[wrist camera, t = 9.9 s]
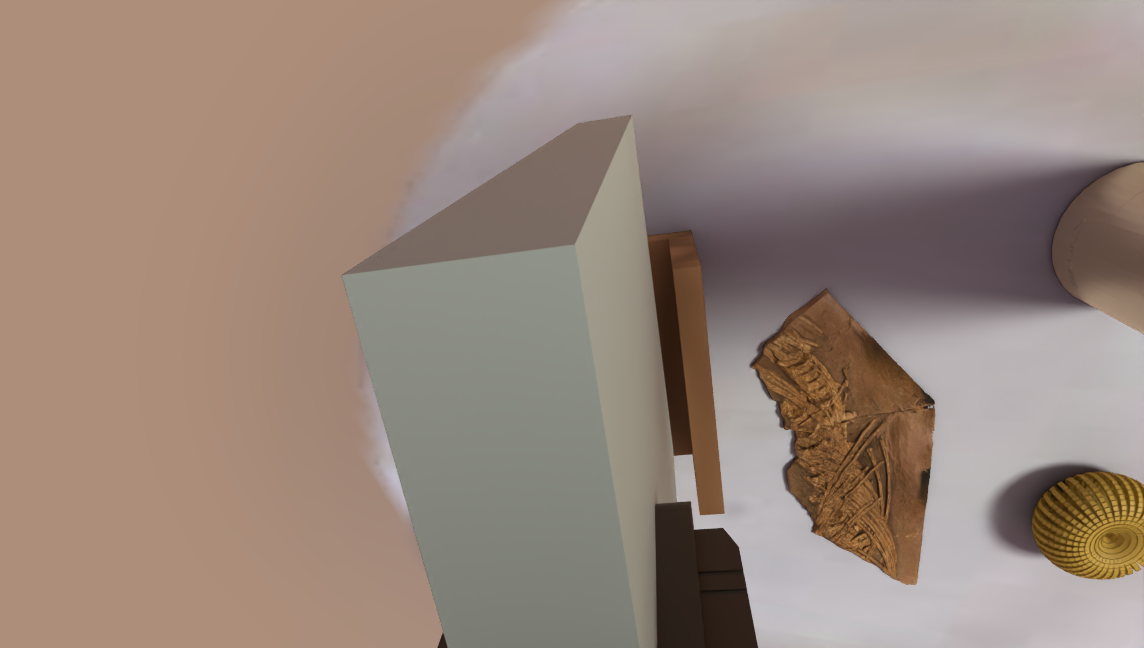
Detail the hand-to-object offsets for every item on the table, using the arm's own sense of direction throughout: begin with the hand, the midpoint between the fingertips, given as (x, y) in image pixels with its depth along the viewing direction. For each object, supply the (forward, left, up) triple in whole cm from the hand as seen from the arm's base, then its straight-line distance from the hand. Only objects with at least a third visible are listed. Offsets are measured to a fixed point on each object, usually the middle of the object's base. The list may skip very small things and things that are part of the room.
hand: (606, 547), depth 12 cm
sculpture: (-29, +26, -33) cm, 51 cm away
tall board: (0, 0, -15) cm, 15 cm away
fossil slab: (-14, +20, -34) cm, 41 cm away
